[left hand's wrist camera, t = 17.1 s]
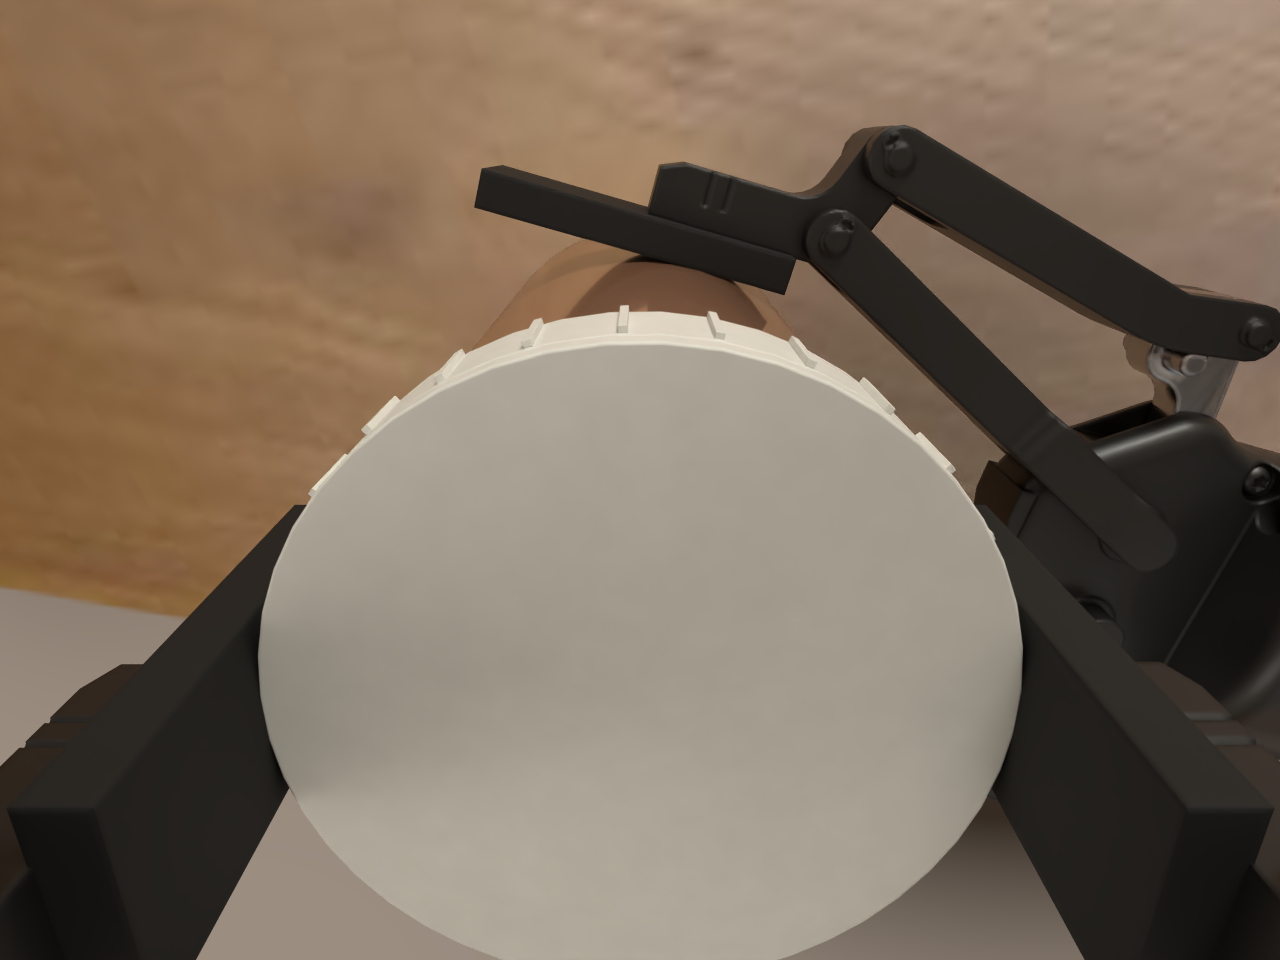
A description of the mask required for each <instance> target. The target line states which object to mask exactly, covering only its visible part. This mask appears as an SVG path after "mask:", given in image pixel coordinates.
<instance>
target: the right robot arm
mask: <svg viewBox="0 0 1280 960" xmlns="http://www.w3.org/2000/svg"><path fill="white" fill-rule="evenodd" d="M891 205H894V206H896V207H897V208H899V209H901V210H903V211H904V212H906V213H908V214H909V215H911V216H913V217H915V218H916V219H918V220H920V221H921V222H923V223H925V224H927V225H928V226H930V227H932V228H933V229H935V230H937V231H939V232H940V233H942V234H944V235H945V236H947V237H949V238H951V239H952V240H954V241H956V242H957V243H959V244H961V245H962V246H964V247H966V248H968V249H969V250H971V251H973V252H974V253H976V254H978V255H980V256H981V257H983V258H985V259H986V260H988V261H990V262H992V263H993V264H995V265H997V266H998V267H1000V268H1002V269H1004V270H1005V271H1007V272H1009V273H1010V274H1012V275H1014V276H1016V277H1017V278H1019V279H1021V280H1022V281H1024V282H1026V283H1028V284H1029V285H1031V286H1033V287H1034V288H1036V289H1038V290H1040V291H1041V292H1043V293H1045V294H1046V295H1048V296H1050V297H1052V298H1053V299H1055V300H1057V301H1058V302H1060V303H1062V304H1064V305H1065V306H1067V307H1069V308H1070V309H1072V310H1074V311H1075V312H1077V313H1079V314H1081V315H1083V316H1085V317H1087V318H1089V319H1091V320H1093V321H1095V322H1098V323H1100V324H1103V325H1105V326H1108V327H1110V328H1113V329H1116V330H1118V331H1121V332H1123V333H1126V336H1125V337H1124V341H1123V345H1124V348H1125V350H1126V358H1127V360H1128V362H1129V364H1130V365H1131V366H1132V367H1133V368H1134V369H1136V370H1138V371H1140V372H1142V373H1144V374H1146V375H1147V376H1148V377H1149V378H1150V379H1151V380H1152V382H1153V384H1154V391H1155V393H1154V398H1153V400H1150V401H1146V402H1142V403H1139V404H1136V405H1133V406H1130V407H1127V408H1124V409H1121V410H1118V411H1115V412H1112V413H1109V414H1106V415H1103V416H1100V417H1097V418H1094V419H1091V420H1088V421H1085V422H1082V423H1079V424H1076V425H1073V426H1070V427H1069V426H1067V425H1066V424H1065V423H1064V422H1063V421H1062V420H1060V419H1059V418H1058V417H1057V416H1056V415H1054V414H1053V413H1052V412H1051V411H1050V410H1049V409H1048V408H1047V407H1046V406H1045V405H1044V404H1043V403H1042V402H1041V401H1040V400H1039V399H1038V398H1037V397H1036V396H1035V395H1034V394H1033V393H1032V392H1031V391H1030V390H1029V389H1028V388H1027V387H1026V386H1025V385H1024V384H1023V383H1022V382H1021V381H1020V380H1019V379H1018V378H1017V377H1016V376H1015V375H1014V374H1013V373H1012V372H1011V371H1010V370H1009V369H1008V368H1007V367H1006V366H1005V365H1004V364H1003V363H1002V362H1001V361H1000V360H999V359H998V358H997V357H996V356H995V355H994V354H993V353H992V352H991V351H990V350H989V349H988V348H987V347H986V346H985V345H984V344H983V343H982V342H981V341H980V340H979V339H978V338H977V337H976V336H975V335H974V334H973V333H972V332H971V331H970V330H969V329H968V328H967V327H966V326H965V325H964V324H963V323H962V322H961V321H960V320H959V319H958V318H957V317H956V316H955V315H954V314H953V313H952V312H951V311H950V310H949V309H948V308H947V307H946V306H945V305H944V304H943V303H942V302H941V301H940V300H939V299H938V298H937V297H936V296H935V295H934V294H933V293H932V292H931V291H930V290H929V289H928V288H927V287H926V286H925V285H924V284H923V283H922V282H921V281H920V280H919V279H918V278H917V277H916V276H915V275H914V274H913V273H912V272H911V271H910V270H909V269H908V268H907V267H906V266H905V265H904V264H903V263H902V262H901V261H900V260H899V259H898V258H897V257H896V256H895V255H894V254H893V253H892V252H891V251H890V250H889V249H888V248H887V247H886V246H885V245H884V244H883V243H882V242H881V241H880V240H879V239H878V238H877V237H876V236H875V235H874V234H873V233H872V232H871V231H872V229H873V228H874V227H875V226H876V224H877V223H878V222H879V220H880V219H881V218H882V217H883V215H884V214H885V213H886V212H887V210H888V209H889V208H890V206H891ZM474 208H478V209H482V210H485V211H489V212H492V213H496V214H499V215H503V216H506V217H510V218H513V219H517V220H520V221H524V222H527V223H531V224H535V225H538V226H542V227H545V228H549V229H552V230H556V231H559V232H563V233H566V234H570V235H573V236H577V237H580V238H584V239H588V240H591V241H595V242H598V243H602V244H605V245H609V246H612V247H616V248H619V249H623V250H626V251H630V252H633V253H637V254H641V255H644V256H648V257H651V258H655V259H658V260H662V261H665V262H669V263H672V264H676V265H679V266H683V267H686V268H690V269H694V270H698V271H701V272H704V273H708V274H711V275H715V276H718V277H722V278H725V279H729V280H732V281H736V282H739V283H743V284H747V285H750V286H754V287H757V288H761V289H764V290H768V291H771V292H775V293H778V294H782V295H785V292H786V289H787V286H788V283H789V280H790V277H791V274H792V271H793V268H794V265H795V262H796V259H798V260H801V261H805V262H808V263H809V264H810V265H811V266H812V267H813V268H814V269H815V270H816V271H817V272H818V273H819V274H820V275H821V276H822V277H824V278H825V279H826V280H827V281H828V282H829V283H830V284H831V285H832V286H833V287H834V288H835V289H836V290H837V291H838V292H839V293H840V294H841V295H842V296H843V297H844V298H845V299H846V300H847V301H848V302H849V303H850V304H851V305H853V306H854V307H855V308H856V309H857V310H858V311H859V312H860V313H861V314H862V315H863V316H864V317H865V318H866V319H867V320H868V321H869V322H870V323H871V324H872V325H873V326H874V327H875V328H876V329H877V330H878V331H879V332H881V333H882V334H883V335H884V336H885V337H886V338H887V339H888V340H889V341H890V342H891V343H892V344H893V345H894V346H895V347H896V348H897V349H898V350H899V351H900V352H901V353H902V354H903V355H904V356H905V357H906V358H907V359H908V360H910V361H911V362H912V363H913V364H914V365H915V366H916V367H917V368H918V369H919V370H920V371H921V372H922V373H923V374H924V375H925V376H926V377H927V378H928V379H929V380H930V381H931V382H932V383H933V384H934V385H935V386H936V387H938V388H939V389H940V390H941V391H942V392H943V393H944V394H945V395H946V396H947V397H948V398H949V399H950V400H951V401H952V402H953V403H954V404H955V405H956V406H957V407H958V408H959V409H960V410H961V411H962V412H963V413H964V414H965V415H966V416H967V417H968V418H969V419H970V420H971V421H972V422H973V423H974V424H975V425H976V426H977V427H978V428H979V429H980V430H981V431H982V432H983V433H984V434H985V435H986V436H987V437H988V438H989V439H990V440H991V441H993V442H994V443H995V444H996V445H997V446H998V447H999V448H1000V449H1001V450H1002V451H1003V452H1004V453H1005V454H1006V455H1005V456H1004V457H1003V458H1002V459H1001V460H1000V461H999V462H998V463H997V462H994V461H990V460H989V461H988V463H987V465H986V468H985V470H984V472H983V474H982V476H981V479H980V481H979V483H978V485H977V488H976V494H975V500H974V505H986V506H987V507H988V508H989V509H990V510H991V511H992V512H993V513H994V514H995V515H996V516H997V517H998V518H999V519H1000V520H1001V522H1002V523H1003V524H1004V525H1005V526H1006V527H1007V528H1008V529H1009V530H1010V531H1011V532H1012V533H1013V534H1014V535H1015V536H1016V537H1017V538H1018V539H1019V540H1020V541H1021V543H1022V544H1023V545H1024V546H1025V547H1026V548H1027V549H1028V550H1029V551H1030V552H1031V553H1032V554H1033V555H1034V556H1035V557H1036V558H1037V559H1038V560H1039V561H1040V562H1041V564H1042V565H1043V566H1044V567H1045V568H1046V569H1047V570H1048V571H1049V572H1050V573H1051V574H1052V575H1053V576H1054V577H1055V578H1056V579H1057V580H1058V581H1059V582H1060V583H1061V585H1062V586H1063V587H1064V588H1065V589H1066V590H1067V591H1068V592H1069V593H1070V594H1071V595H1072V596H1073V597H1074V598H1075V599H1076V600H1077V601H1078V602H1079V603H1080V604H1081V606H1082V607H1083V608H1084V609H1085V610H1086V611H1087V612H1088V613H1089V614H1090V615H1091V616H1092V617H1093V618H1094V619H1095V620H1096V621H1097V622H1098V623H1099V624H1100V625H1101V626H1102V628H1103V629H1104V630H1105V631H1106V632H1107V633H1108V634H1109V635H1110V636H1111V637H1112V638H1113V639H1114V640H1115V641H1116V642H1117V643H1118V644H1119V645H1120V646H1121V647H1122V649H1123V650H1124V651H1125V652H1126V653H1127V654H1128V655H1129V656H1130V657H1131V658H1132V659H1133V660H1134V661H1135V662H1162V663H1163V664H1165V665H1167V666H1168V667H1170V668H1172V669H1174V670H1175V671H1177V672H1179V673H1180V674H1182V675H1184V676H1185V677H1187V678H1189V679H1191V680H1192V681H1194V682H1196V683H1197V684H1199V685H1201V686H1202V687H1203V688H1204V689H1205V690H1206V691H1207V692H1208V693H1209V694H1210V695H1211V696H1212V697H1214V698H1215V699H1216V700H1217V701H1218V702H1219V703H1220V704H1221V705H1222V706H1223V707H1224V708H1225V709H1226V710H1227V711H1228V712H1229V713H1230V714H1231V718H1232V720H1237V721H1238V722H1239V723H1240V724H1241V725H1242V726H1243V727H1244V728H1246V729H1247V730H1248V731H1249V732H1250V733H1251V734H1252V735H1253V736H1254V737H1255V738H1256V743H1257V745H1263V746H1264V747H1265V748H1266V749H1267V750H1268V751H1269V752H1270V753H1271V754H1272V755H1273V756H1274V757H1275V758H1276V759H1278V760H1280V453H1276V452H1273V451H1269V450H1266V449H1262V448H1258V447H1255V446H1251V445H1248V444H1244V443H1240V442H1237V441H1236V440H1235V439H1234V438H1233V437H1232V436H1231V435H1230V433H1229V432H1228V430H1227V429H1226V428H1225V427H1224V426H1223V425H1222V424H1221V423H1220V422H1219V421H1217V420H1216V419H1215V418H1216V416H1217V414H1218V411H1219V409H1220V406H1221V404H1222V401H1223V399H1224V396H1225V394H1226V391H1227V389H1228V386H1229V384H1230V382H1231V379H1232V377H1233V374H1234V372H1235V369H1236V367H1237V364H1238V362H1239V361H1256V360H1258V359H1261V358H1263V357H1265V356H1267V355H1268V354H1269V353H1271V352H1272V351H1273V350H1274V349H1275V348H1276V347H1277V345H1278V344H1279V342H1280V313H1279V312H1278V310H1277V309H1275V308H1272V307H1269V306H1267V305H1263V304H1259V303H1255V302H1251V301H1247V300H1243V299H1240V298H1236V297H1232V296H1228V295H1224V294H1220V293H1216V292H1213V291H1209V290H1205V289H1201V288H1197V287H1191V286H1184V285H1177V284H1171V283H1170V282H1168V281H1167V280H1165V279H1163V278H1162V277H1160V276H1158V275H1157V274H1155V273H1153V272H1152V271H1150V270H1148V269H1147V268H1145V267H1143V266H1142V265H1140V264H1139V263H1137V262H1135V261H1134V260H1132V259H1130V258H1129V257H1127V256H1125V255H1124V254H1122V253H1120V252H1119V251H1117V250H1115V249H1114V248H1112V247H1110V246H1109V245H1107V244H1106V243H1104V242H1102V241H1101V240H1099V239H1097V238H1096V237H1094V236H1092V235H1091V234H1089V233H1087V232H1086V231H1084V230H1082V229H1081V228H1079V227H1077V226H1076V225H1074V224H1073V223H1071V222H1069V221H1068V220H1066V219H1064V218H1063V217H1061V216H1059V215H1058V214H1056V213H1054V212H1053V211H1051V210H1049V209H1048V208H1046V207H1044V206H1043V205H1041V204H1040V203H1038V202H1036V201H1035V200H1033V199H1031V198H1030V197H1028V196H1026V195H1025V194H1023V193H1021V192H1020V191H1018V190H1016V189H1015V188H1013V187H1011V186H1010V185H1008V184H1007V183H1005V182H1003V181H1002V180H1000V179H998V178H997V177H995V176H993V175H992V174H990V173H988V172H987V171H985V170H983V169H982V168H980V167H979V166H977V165H975V164H974V163H972V162H970V161H969V160H967V159H965V158H964V157H962V156H960V155H959V154H957V153H955V152H954V151H952V150H950V149H949V148H947V147H946V146H944V145H942V144H941V143H939V142H937V141H936V140H934V139H932V138H931V137H929V136H927V135H926V134H924V133H922V132H921V131H919V130H917V129H915V128H912V127H909V126H906V125H901V126H881V127H872V128H863V129H861V130H859V131H857V132H856V133H854V134H853V135H852V136H851V137H850V138H849V139H848V141H847V142H846V143H845V146H844V148H843V151H842V155H841V156H840V158H839V159H838V160H837V162H836V163H835V164H834V166H833V167H832V168H831V170H830V171H829V172H828V174H827V175H826V176H825V178H824V179H823V180H822V181H821V182H820V183H819V184H817V185H816V186H815V187H813V188H812V189H809V190H807V191H804V192H798V193H791V192H785V191H781V190H778V189H774V188H771V187H768V186H764V185H761V184H757V183H754V182H751V181H747V180H744V179H741V178H737V177H734V176H730V175H727V174H724V173H720V172H717V171H714V170H710V169H707V168H703V167H700V166H697V165H693V164H690V163H686V162H677V163H669V164H660V165H659V167H658V171H657V174H656V178H655V182H654V186H653V189H652V193H651V197H650V201H649V204H648V207H646V206H642V205H639V204H635V203H632V202H628V201H625V200H621V199H618V198H614V197H611V196H608V195H604V194H601V193H597V192H594V191H590V190H587V189H583V188H580V187H576V186H573V185H569V184H566V183H563V182H559V181H556V180H552V179H549V178H545V177H542V176H538V175H535V174H531V173H528V172H524V171H521V170H518V169H514V168H511V167H507V166H504V165H501V166H495V167H489V168H482V170H481V175H480V180H479V185H478V190H477V196H476V201H475V206H474ZM987 796H988V797H991V798H993V799H997V797H996V796H995V794H994V792H993V790H992V788H991V790H990V792H989V793H988V795H987Z"/></svg>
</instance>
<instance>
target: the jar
mask: <svg viewBox="0 0 1280 960" xmlns="http://www.w3.org/2000/svg"><path fill="white" fill-rule="evenodd" d="M622 305H629V312H669V313H677V314H685V315H694V316H702V317H707V314H708V311H711V312H716V313H717V315H718V317H719V319H720V320H722V321H726V322H730V323H734V324H738V325H742V326H746V327H750V328H754V329H757V330H760V331H763V332H765V333H768V334H770V335H773V336H775V337H778V338H780V339H783V340H785V341H789V339H790V337H791V336H793V337H796V338H798V336H797V335H796V334H795V333H794V331H793V330H792V329H791V328H790V327H789V325H788V324H787V323H786V322H785V320H784V319H783V318H782V317H781V315H780V314H779V313H778V312H777V311H776V309H775V308H774V307H773V306H772V304H771V303H770V302H769V301H768V299H767V298H766V297H765V296H764V295H763V293H762V292H761V291H760V290H759V288H757V287H754V286H750V285H747V284H743V283H739V282H736V281H732V280H729V279H725V278H722V277H718V276H715V275H711V274H708V273H704V272H701V271H698V270H694V269H690V268H686V267H683V266H679V265H676V264H672V263H669V262H665V261H662V260H658V259H655V258H651V257H648V256H644V255H641V254H637V253H633V252H630V251H626V250H623V249H619V248H616V247H612V246H609V245H605V244H602V243H598V242H595V241H591V240H588V239H584V240H582V241H580V242H578V243H576V244H574V245H572V246H570V247H568V248H566V249H564V250H563V251H562V252H560V253H559V254H557V255H556V256H554V257H553V258H551V259H550V260H549V261H548V262H546V263H545V264H544V265H543V266H542V267H541V268H540V269H539V270H537V271H536V272H535V273H534V275H533V276H532V277H531V278H530V279H529V281H528V282H527V283H526V284H525V285H524V286H523V288H522V289H521V290H520V291H519V293H518V294H517V295H516V296H515V297H514V299H513V300H512V301H511V302H510V304H509V305H508V306H507V307H506V309H505V310H504V311H503V312H502V314H501V315H500V316H499V317H498V318H497V320H496V321H495V322H494V323H493V325H492V326H491V327H490V328H489V330H488V331H487V332H486V333H485V334H484V336H483V337H482V338H481V339H480V341H479V342H478V343H477V344H476V346H475V347H474V348H473V349H472V351H473V350H475V349H477V348H480V347H482V346H484V345H487V344H489V343H491V342H493V341H496V340H498V339H500V338H503V337H505V336H507V335H509V334H512V333H515V332H518V331H522V330H525V329H529V327H530V325H531V324H532V322H533V320H535V319H539V318H542V320H543V323H544V324H546V323H550V322H553V321H557V320H560V319H567V318H574V317H581V316H588V315H595V314H601V313H608V312H619V311H620V306H622ZM798 339H799V338H798ZM799 340H800V339H799ZM800 341H801V340H800ZM801 342H802V341H801ZM802 344H803V343H802ZM803 345H804V344H803ZM804 346H805V345H804ZM805 347H806V346H805ZM806 349H807V347H806ZM807 350H808V349H807ZM808 351H809V350H808Z"/></svg>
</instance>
